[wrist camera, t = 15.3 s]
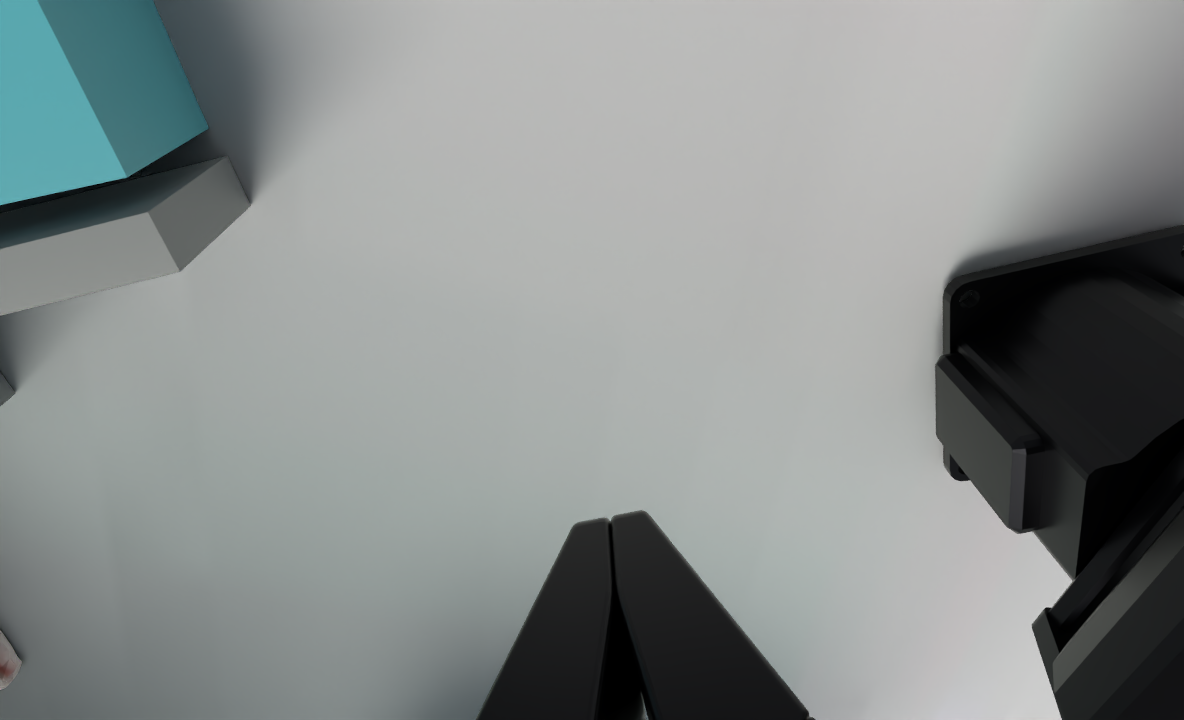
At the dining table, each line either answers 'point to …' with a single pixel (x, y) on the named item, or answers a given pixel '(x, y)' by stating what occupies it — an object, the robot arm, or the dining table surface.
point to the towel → (7, 662)
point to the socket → (113, 236)
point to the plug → (87, 94)
